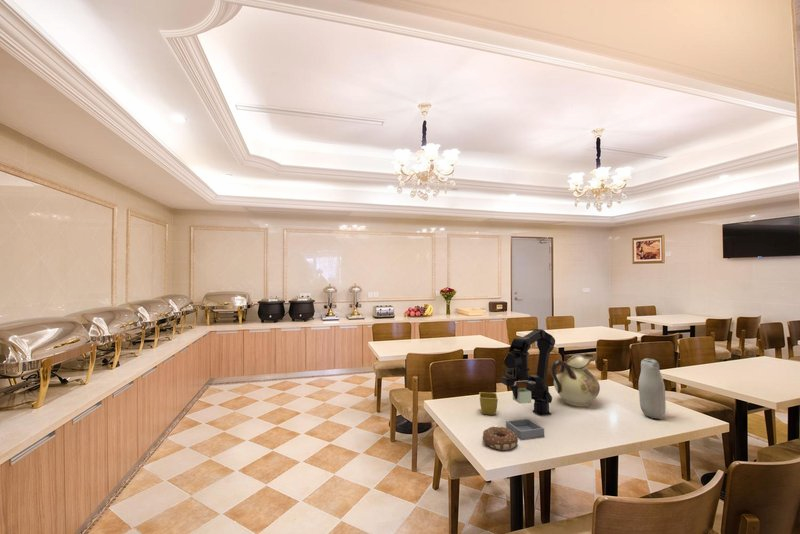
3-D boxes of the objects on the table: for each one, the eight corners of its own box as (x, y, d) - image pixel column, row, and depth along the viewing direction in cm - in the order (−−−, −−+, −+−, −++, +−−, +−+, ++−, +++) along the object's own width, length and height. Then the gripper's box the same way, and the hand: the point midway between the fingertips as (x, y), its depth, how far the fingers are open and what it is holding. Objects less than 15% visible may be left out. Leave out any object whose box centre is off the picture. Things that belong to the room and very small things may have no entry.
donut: (507, 435, 148) (507, 423, 148) (523, 450, 134) (523, 437, 135) (476, 438, 146) (476, 426, 146) (489, 453, 132) (489, 440, 132)
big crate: (528, 426, 156) (528, 418, 157) (544, 436, 145) (544, 428, 146) (506, 428, 154) (505, 421, 154) (520, 440, 143) (520, 431, 143)
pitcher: (601, 400, 190) (599, 354, 191) (599, 414, 170) (597, 363, 171) (557, 394, 202) (555, 351, 203) (551, 406, 182) (549, 359, 183)
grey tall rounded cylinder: (670, 418, 164) (666, 359, 165) (659, 422, 159) (656, 362, 160) (647, 411, 172) (644, 355, 174) (636, 415, 167) (633, 358, 169)
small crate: (524, 398, 164) (523, 387, 165) (531, 402, 158) (531, 391, 159) (512, 399, 163) (512, 388, 163) (519, 403, 157) (519, 392, 157)
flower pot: (498, 417, 168) (497, 398, 168) (480, 415, 169) (479, 397, 170) (496, 410, 176) (496, 392, 177) (479, 409, 178) (479, 392, 179)
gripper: (528, 360, 172) (529, 392, 171) (494, 362, 167) (495, 394, 166) (542, 365, 161) (543, 399, 160) (506, 367, 157) (507, 402, 156)
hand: (521, 398), depth 161 cm, fingers closed on small crate, 6 cm apart
